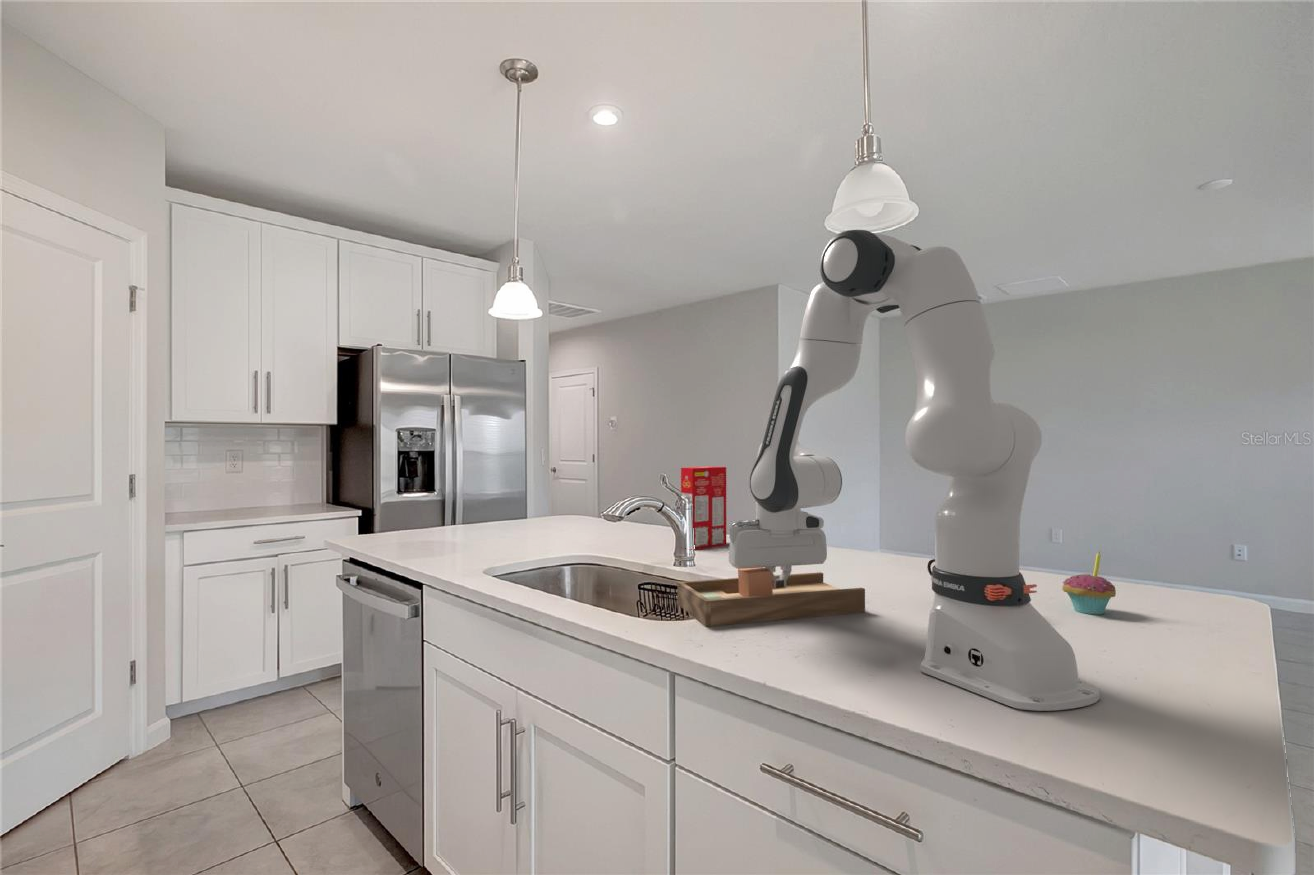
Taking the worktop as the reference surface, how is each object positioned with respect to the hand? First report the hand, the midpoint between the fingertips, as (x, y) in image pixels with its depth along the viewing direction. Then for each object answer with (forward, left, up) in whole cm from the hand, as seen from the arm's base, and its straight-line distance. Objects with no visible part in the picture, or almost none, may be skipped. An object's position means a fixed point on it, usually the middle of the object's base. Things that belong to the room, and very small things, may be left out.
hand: (777, 588), depth 125 cm
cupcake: (-20, -56, -4) cm, 60 cm away
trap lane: (0, +2, -4) cm, 4 cm away
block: (0, +5, -1) cm, 5 cm away
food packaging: (+72, -11, -4) cm, 73 cm away
